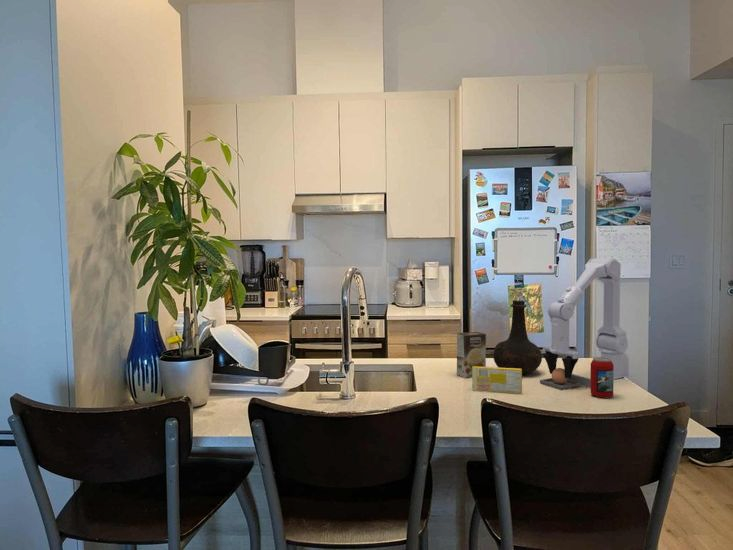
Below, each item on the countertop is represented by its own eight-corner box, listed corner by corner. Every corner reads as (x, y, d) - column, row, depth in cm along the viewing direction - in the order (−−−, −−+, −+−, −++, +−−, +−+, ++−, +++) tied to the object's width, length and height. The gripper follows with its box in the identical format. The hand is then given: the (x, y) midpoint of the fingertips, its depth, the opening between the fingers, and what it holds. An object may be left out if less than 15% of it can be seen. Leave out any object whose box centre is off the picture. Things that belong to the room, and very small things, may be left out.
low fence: (556, 377, 191) (556, 369, 191) (592, 387, 177) (592, 379, 177) (554, 378, 191) (554, 369, 191) (590, 388, 176) (590, 379, 176)
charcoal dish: (558, 380, 188) (558, 376, 188) (581, 386, 179) (581, 383, 179) (539, 383, 184) (539, 380, 184) (561, 390, 175) (561, 386, 175)
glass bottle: (488, 367, 208) (487, 298, 207) (532, 366, 209) (532, 297, 208) (501, 379, 191) (501, 303, 189) (549, 377, 191) (549, 302, 190)
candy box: (522, 393, 173) (522, 368, 172) (521, 394, 171) (521, 369, 170) (472, 389, 178) (472, 365, 178) (472, 391, 176) (471, 366, 176)
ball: (560, 381, 185) (559, 366, 185) (572, 384, 180) (571, 368, 180) (548, 383, 182) (547, 367, 182) (560, 386, 177) (559, 370, 177)
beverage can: (603, 400, 163) (604, 362, 162) (585, 394, 169) (585, 358, 168) (618, 396, 166) (618, 359, 165) (599, 391, 172) (600, 356, 171)
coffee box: (464, 378, 192) (464, 335, 191) (456, 374, 198) (456, 332, 197) (486, 376, 195) (486, 333, 194) (477, 372, 201) (477, 331, 200)
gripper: (536, 334, 185) (536, 372, 186) (568, 341, 172) (568, 381, 173) (551, 333, 188) (551, 370, 189) (583, 339, 175) (583, 379, 176)
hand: (560, 375), depth 181 cm, fingers open, 6 cm apart
